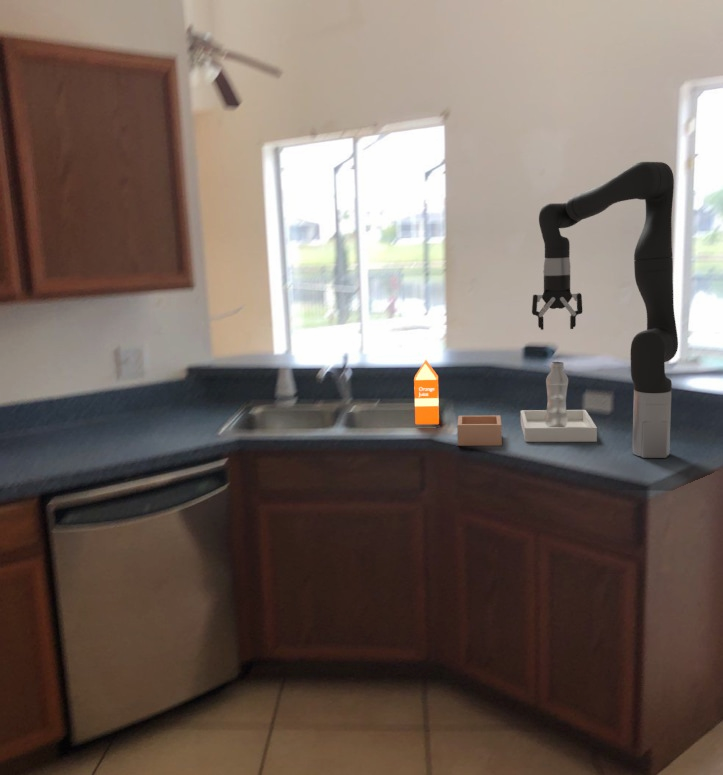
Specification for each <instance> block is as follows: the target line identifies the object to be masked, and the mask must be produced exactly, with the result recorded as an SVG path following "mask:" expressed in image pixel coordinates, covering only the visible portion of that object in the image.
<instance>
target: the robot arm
mask: <svg viewBox="0 0 723 775" xmlns="http://www.w3.org/2000/svg"><path fill="white" fill-rule="evenodd" d="M674 185H675V179H674V173H673V170H672V168H671V167H670V166H669V165H668V163H665V162H664V161H663V162H662V161H640V162H637V163H635V164H632V166H629V167H628V168H626V169H624V171H621V173H619V174H617V175H615V176H614V177H612V178H611V179H609V180H607V181H605V182H604V183H602V184H600V185H597V186H595V187H593V188H590V189H588V190H587V189H586V190H585V191H583V192H580V193H577V194H575V195H573V196H571V197H570V198H569V199H568V200H567V202H564V203H555V202H554V203H552V202H551V203H546V204H545V205H543V206H542V208H541V209H540V210H539V215H538V224H539V228H540V232H541V236H542V240H543V243H544V261H543V294H536V293H534V294H533V295H532V303H531V314H532V315H533V316H536V317H537V322H538V323H537V326H538V329H540V331H543V330H544V315H545V314H546V313H547V311H548V310H549V309H551V310H555V309H560V310H561V309H564V308H565V309H566V310H567V311H568V312H569V314H570V316H569V328H570V329H569V330H574V328H576V325H577V324H576V323H577V320H576V319H577V316H578V315H581V314H583V298H582V297H583V296H582V293H581V292H577V293H572V292H571V260H570V240H569V238H568V237H566V236H562V234H561V231H560V229H565V228H571V227H573V226H575V225H576V224H578V223H580V222H581V221H582V220H585V219H588V218H591V217H593V216H596V215H599V214H600V213H602V212H604V211H606V210H607V209H608V208H609V207H611V206H612V205H615V204H616V203H620V202H624V201H630V200H639V201H640V200H644V201H645V221H644V225H643V228H642V231H641V233H640V235H639V238H638V240H637V243H636V245H635V249H634V255H633V262H634V267H633V268H634V279H635V283H636V286H637V288H638V291H639V293H640V296H641V299H642V301H643V303H644V306H645V310H646V329H645V330H642V331H640V332H638V333H636V334H635V336H634V337H632V338H633V339H632V341H631V344H630V345H631V346H630V378H631V381H632V383H633V404H632V405H633V406H632V407H633V408H632V409H633V412H632V414H633V416H632V454H633V455H635V456H638V457H641V458H642V459H643V458H644V459H647V458H649V459H653V458H654V459H656V458H657V459H660V458H661V459H663V458H664V459H667V457H668V456H670V447H671V446H670V443H671V438H670V437H671V416H672V415H671V414H672V413H671V411H672V389H673V388H672V386H673V384H672V380H671V379H670V378H668V377H667V376H666V373H665V371H666V370H665V363H667V362H669V361H671V360H672V359H673V358H675V356H676V354H677V352H678V348H679V339H678V332H677V331H678V330H677V324H676V318H675V309H674V308H675V307H674V280H673V279H674V277H673V276H674V268H673V267H674V261H673V260H674V258H673V257H674V256H673V244H672V243H673V242H672V240H673V239H672V237H673V235H672V222H673V221H672V218H673V216H672V215H673V202H674V201H673V200H674V188H675V186H674ZM572 298H573V300H574V301H575V302H576V310H574V309H573V308H572V306H571V305H570V303H569V302H570V301H571V300H572ZM541 299H542V300H543V302H544V304H543V306H542V308H541V309H540V310H539V311H537V310H538V303H540V302H541V301H540V300H541Z"/></svg>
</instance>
